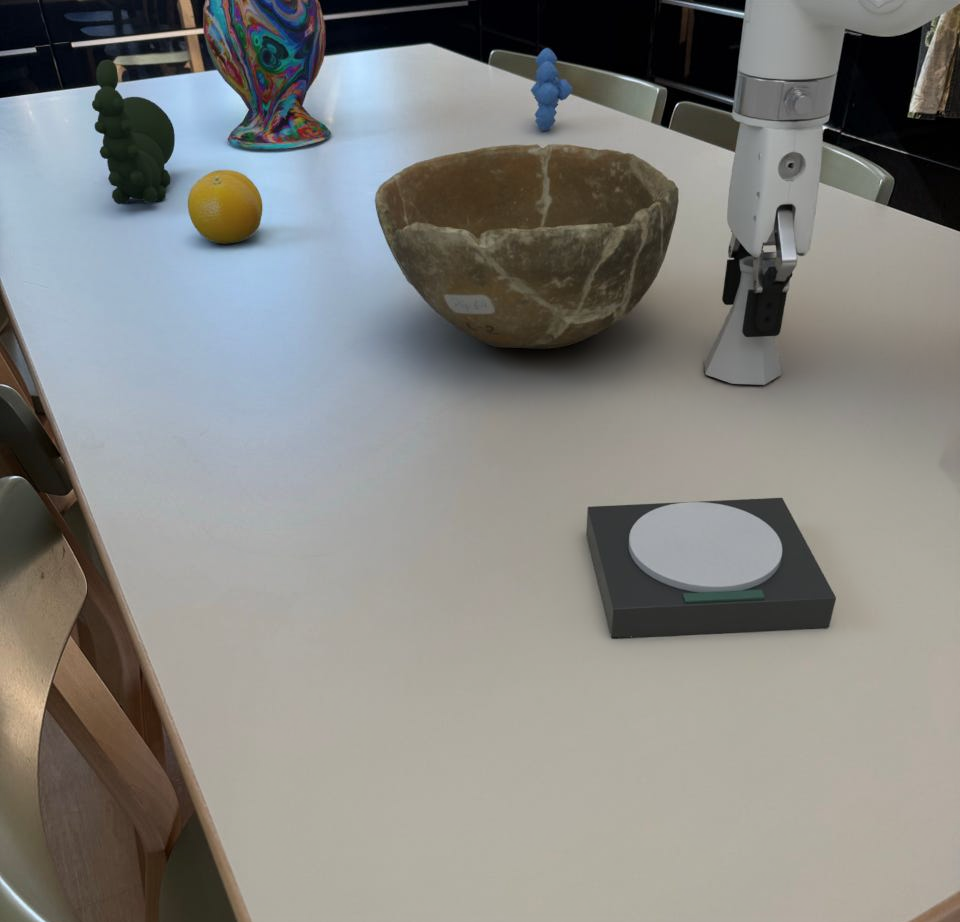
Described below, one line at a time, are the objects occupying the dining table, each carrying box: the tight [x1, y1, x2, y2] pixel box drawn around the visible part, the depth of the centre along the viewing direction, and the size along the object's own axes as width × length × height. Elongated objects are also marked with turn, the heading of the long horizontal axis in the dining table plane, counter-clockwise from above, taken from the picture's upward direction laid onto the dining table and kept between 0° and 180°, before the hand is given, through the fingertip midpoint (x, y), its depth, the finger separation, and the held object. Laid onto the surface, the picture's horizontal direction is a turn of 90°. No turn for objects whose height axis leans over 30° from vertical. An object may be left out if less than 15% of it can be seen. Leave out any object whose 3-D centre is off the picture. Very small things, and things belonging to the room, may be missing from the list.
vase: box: [202, 0, 332, 150], centre depth 155 cm, size 18×18×30 cm
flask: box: [703, 256, 782, 386], centre depth 91 cm, size 7×7×10 cm
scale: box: [585, 497, 837, 639], centre depth 68 cm, size 14×12×3 cm
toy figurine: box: [91, 59, 176, 205], centre depth 137 cm, size 9×19×25 cm
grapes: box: [530, 47, 574, 132], centre depth 161 cm, size 12×7×12 cm, turn 179°
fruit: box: [187, 169, 264, 244], centre depth 124 cm, size 9×8×8 cm
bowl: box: [374, 143, 680, 350], centre depth 96 cm, size 28×27×15 cm
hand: (749, 317), depth 91 cm, fingers open, 6 cm apart
